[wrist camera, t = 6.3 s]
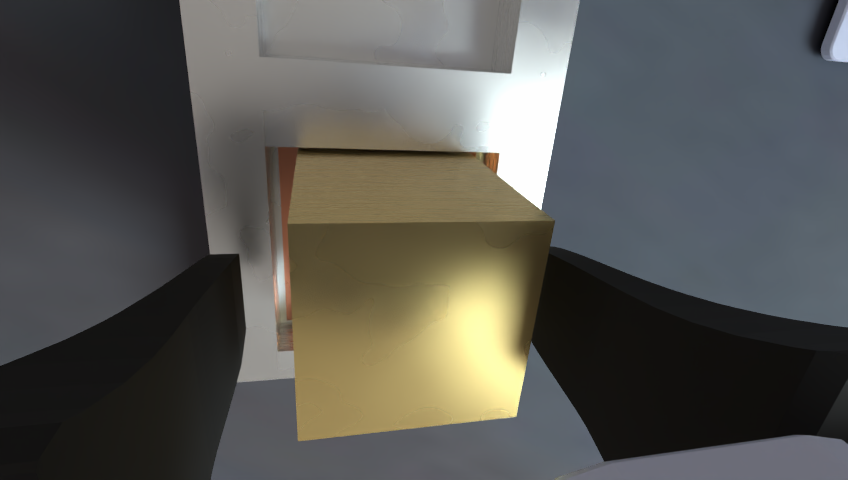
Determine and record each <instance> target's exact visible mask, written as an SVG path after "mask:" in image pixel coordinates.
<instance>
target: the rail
mask: <svg viewBox="0 0 848 480" xmlns="http://www.w3.org/2000/svg"><path fill="white" fill-rule="evenodd" d="M179 2H180V10H181V19H182V27H183V35H184V43H185V52H186V60H187V68H188V76H189V85H190V93H191V101H192V109H193V118H194V126H195V134H196V142H197V151H198V159H199V167H200V176H201V184H202V192H203V200H204V209H205V217H206V225H207V233H208V242H209V250H210V254H239V257H240V268H241V279H242V289H243V300H244V311H245V322H246V335H245V343H244V351H243V357H242V364H241V369H240V372H239V376H238V380H237V382H248V381H261V380H273V379H285V378H295V369H294V348H293V328H292V308H291V287H290V267H289V247H288V226H287V223H288V216H289V209H290V201H291V194H292V187H293V180H294V172H295V165H296V158H297V150H298V147H301V148H339V149H376V150H414V151H452V152H469V153H470V154H472V155H473V156H474V157H475V158H477V159H478V160H479V161H480V162H482V163H483V164H484V165H485V166H487V167H488V168H489V169H490V170H492V171H493V172H494V173H496V174H497V175H498V176H499V177H501V178H502V179H503V180H504V181H506V182H507V183H508V184H509V185H511V186H512V187H513V188H514V189H516V190H517V191H518V192H519V193H521V194H522V195H523V196H524V197H526V198H527V199H528V200H529V201H531V202H532V203H533V204H535V205H536V206H537V207H538V208H540V209H541V205H542V200H543V195H544V189H545V184H546V179H547V173H548V168H549V163H550V157H551V152H552V146H553V141H554V136H555V130H556V125H557V120H558V114H559V109H560V104H561V98H562V93H563V88H564V82H565V77H566V72H567V66H568V61H569V56H570V50H571V45H572V39H573V34H574V29H575V23H576V18H577V13H578V7H579V2H580V0H179Z"/></svg>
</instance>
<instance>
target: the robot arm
mask: <svg viewBox="0 0 848 480" xmlns="http://www.w3.org/2000/svg"><path fill="white" fill-rule="evenodd" d="M821 55H822V57H823V59H825V60H828V61H838V62H848V0H839V1H838V4H837V7H836V9H835V12H834V14H833V17H832V20H831V22H830V25H829V27H828V30H827V32H826V35H825V38H824V40H823V43H822V46H821ZM245 335H246V322H245V311H244V300H243V289H242V279H241V268H240V257H239V254H210V255H208V256H206V257H204V258H203V259H201V260H200V261H198V262H197V263H195V264H194V265H192V266H191V267H190V268H188V269H187V270H185V271H184V272H182V273H181V274H179V275H178V276H176V277H175V278H174V279H172V280H171V281H169V282H168V283H166V284H165V285H163V286H162V287H160V288H159V289H157V290H156V291H154V292H152V293H151V294H149V295H147V296H146V297H144V298H143V299H141V300H139V301H138V302H136V303H134V304H133V305H131V306H129V307H128V308H126V309H124V310H123V311H121V312H119V313H118V314H116V315H114V316H112V317H110V318H108V319H107V320H105V321H103V322H101V323H99V324H97V325H95V326H93V327H91V328H89V329H87V330H85V331H83V332H80V333H78V334H76V335H74V336H72V337H70V338H68V339H66V340H63V341H61V342H59V343H56V344H54V345H51V346H49V347H46V348H44V349H41V350H39V351H37V352H34V353H32V354H29V355H27V356H24V357H22V358H19V359H17V360H14V361H12V362H9V363H7V364H4V365H2V366H0V480H211V474H212V470H213V465H214V461H215V457H216V453H217V449H218V446H219V442H220V439H221V435H222V432H223V428H224V425H225V421H226V418H227V415H228V411H229V408H230V404H231V401H232V397H233V394H234V390H235V387H236V383H237V380H238V376H239V372H240V369H241V364H242V357H243V351H244V343H245ZM531 341H532V343H533V345H534V347H535V348H536V350H537V351H538V353H539V355H540V356H541V358H542V359H543V361H544V362H545V364H546V365H547V367H548V368H549V370H550V371H551V373H552V374H553V376H554V377H555V379H556V380H557V382H558V383H559V385H560V386H561V388H562V389H563V391H564V392H565V394H566V395H567V397H568V398H569V400H570V401H571V403H572V404H573V406H574V407H575V409H576V410H577V412H578V414H579V415H580V417H581V419H582V420H583V422H584V424H585V425H586V427H587V429H588V431H589V433H590V434H591V436H592V438H593V440H594V442H595V444H596V446H597V448H598V450H599V452H600V454H601V456H602V458H603V460H604V462H602V463H599V464H596V465H593V466H590V467H587V468H584V469H581V470H578V471H575V472H572V473H569V474H566V475H563V476H560V477H557V478H556V479H554V480H848V328H847V327H838V326H831V325H824V324H818V323H811V322H805V321H798V320H792V319H787V318H781V317H776V316H771V315H766V314H761V313H757V312H752V311H748V310H743V309H738V308H734V307H730V306H726V305H722V304H718V303H714V302H711V301H707V300H704V299H700V298H697V297H693V296H690V295H686V294H683V293H680V292H677V291H674V290H671V289H668V288H665V287H662V286H659V285H657V284H654V283H651V282H648V281H645V280H643V279H640V278H637V277H635V276H632V275H630V274H627V273H625V272H622V271H620V270H617V269H615V268H612V267H610V266H607V265H605V264H602V263H600V262H597V261H595V260H592V259H590V258H587V257H585V256H582V255H579V254H577V253H574V252H571V251H568V250H565V249H561V248H557V247H550V248H549V253H548V258H547V263H546V268H545V273H544V278H543V283H542V288H541V293H540V299H539V304H538V309H537V314H536V319H535V324H534V329H533V334H532V339H531Z"/></svg>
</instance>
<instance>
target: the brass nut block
mask: <svg viewBox="0 0 848 480" xmlns="http://www.w3.org/2000/svg"><path fill="white" fill-rule="evenodd" d="M554 223H555V220H553V219H552V218H551V217H550V216H548V215H547V214H546V213H545V212H543V211H542V210H541V209H540V208H538V207H537V206H536V205H535V204H533V203H532V202H531V201H529V200H528V199H527V198H526V197H524V196H523V195H522V194H521V193H519V192H518V191H517V190H516V189H514V188H513V187H512V186H511V185H509V184H508V183H507V182H506V181H504V180H503V179H502V178H501V177H499V176H498V175H497V174H496V173H494V172H493V171H492V170H490V169H489V168H488V167H487V166H485V165H484V164H483V163H482V162H480V161H479V160H478V159H477V158H475V157H474V156H473V155H472V154H470V153H469V152H452V151H414V150H376V149H339V148H301V147H298V150H297V158H296V165H295V172H294V180H293V187H292V194H291V201H290V209H289V216H288V223H287V226H288V247H289V267H290V287H291V308H292V328H293V348H294V369H295V389H296V409H297V430H298V441H304V440H313V439H322V438H331V437H340V436H349V435H358V434H366V433H375V432H384V431H393V430H402V429H411V428H420V427H428V426H437V425H446V424H455V423H464V422H473V421H482V420H490V419H499V418H508V417H516V414H517V409H518V404H519V399H520V394H521V389H522V384H523V379H524V374H525V369H526V364H527V359H528V354H529V349H530V344H531V339H532V334H533V329H534V324H535V319H536V314H537V309H538V304H539V299H540V293H541V288H542V283H543V278H544V273H545V268H546V263H547V258H548V253H549V248H550V243H551V238H552V233H553V228H554Z"/></svg>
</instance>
